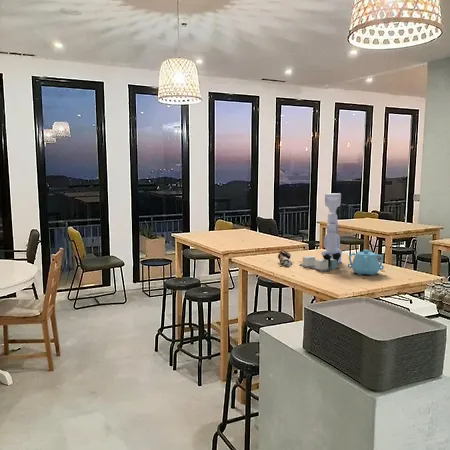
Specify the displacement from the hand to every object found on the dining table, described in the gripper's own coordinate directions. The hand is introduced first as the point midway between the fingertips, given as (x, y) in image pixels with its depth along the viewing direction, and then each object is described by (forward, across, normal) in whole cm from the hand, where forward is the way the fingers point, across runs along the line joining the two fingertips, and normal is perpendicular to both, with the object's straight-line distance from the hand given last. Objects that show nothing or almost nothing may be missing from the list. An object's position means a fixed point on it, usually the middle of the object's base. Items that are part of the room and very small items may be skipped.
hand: (331, 266), depth 272 cm
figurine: (+2, -16, +25) cm, 30 cm away
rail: (+1, -8, +6) cm, 10 cm away
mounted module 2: (+1, -8, 0) cm, 8 cm away
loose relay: (+2, +2, +9) cm, 9 cm away
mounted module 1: (+1, -8, +11) cm, 14 cm away
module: (+2, 0, 0) cm, 2 cm away
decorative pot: (+2, +7, -20) cm, 21 cm away
